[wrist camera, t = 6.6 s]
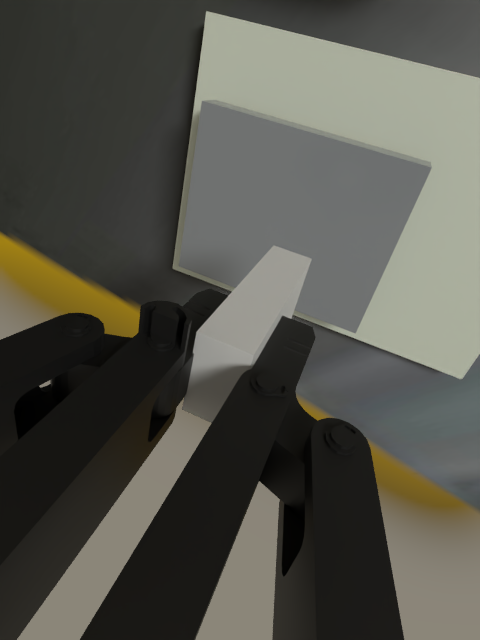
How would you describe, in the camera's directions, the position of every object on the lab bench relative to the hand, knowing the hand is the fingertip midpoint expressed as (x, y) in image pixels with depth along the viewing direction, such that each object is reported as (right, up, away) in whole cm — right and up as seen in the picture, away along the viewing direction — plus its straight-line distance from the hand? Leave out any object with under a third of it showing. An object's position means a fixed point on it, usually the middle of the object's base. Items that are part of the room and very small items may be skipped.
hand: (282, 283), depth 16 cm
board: (+4, +5, +7) cm, 10 cm away
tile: (+6, +2, +5) cm, 8 cm away
